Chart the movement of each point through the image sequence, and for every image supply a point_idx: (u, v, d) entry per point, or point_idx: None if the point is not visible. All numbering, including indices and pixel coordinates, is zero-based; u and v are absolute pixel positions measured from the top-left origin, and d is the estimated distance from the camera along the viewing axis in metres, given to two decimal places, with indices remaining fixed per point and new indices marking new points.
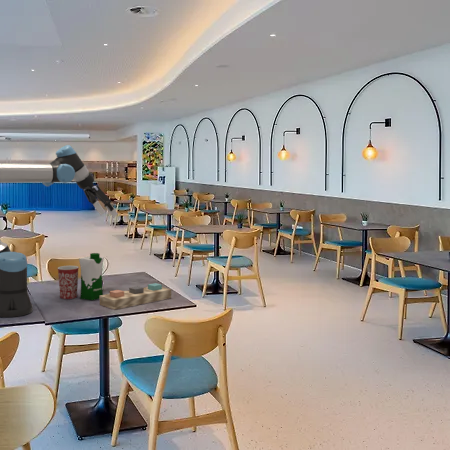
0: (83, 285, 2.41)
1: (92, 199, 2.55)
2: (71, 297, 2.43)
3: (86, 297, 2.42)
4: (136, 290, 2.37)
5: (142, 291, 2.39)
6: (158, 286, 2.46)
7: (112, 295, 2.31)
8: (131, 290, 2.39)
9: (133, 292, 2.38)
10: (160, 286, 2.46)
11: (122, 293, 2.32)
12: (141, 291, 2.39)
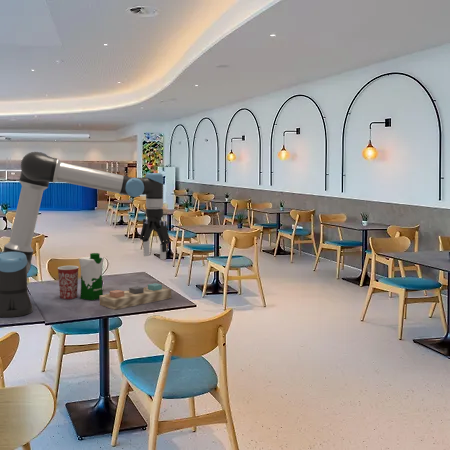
0: (83, 285, 2.41)
1: (146, 236, 2.48)
2: (71, 297, 2.43)
3: (86, 297, 2.42)
4: (136, 290, 2.37)
5: (142, 291, 2.39)
6: (158, 286, 2.46)
7: (112, 295, 2.31)
8: (131, 290, 2.39)
9: (133, 292, 2.38)
10: (160, 286, 2.46)
11: (122, 293, 2.32)
12: (141, 291, 2.39)
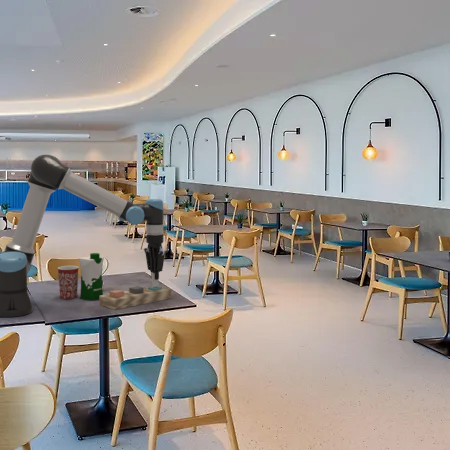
0: (83, 285, 2.41)
1: (152, 264, 2.46)
2: (71, 297, 2.43)
3: (86, 297, 2.42)
4: (136, 290, 2.37)
5: (142, 291, 2.39)
6: (158, 289, 2.46)
7: (112, 295, 2.31)
8: (131, 290, 2.39)
9: (133, 292, 2.38)
10: (160, 289, 2.46)
11: (122, 293, 2.32)
12: (141, 291, 2.39)
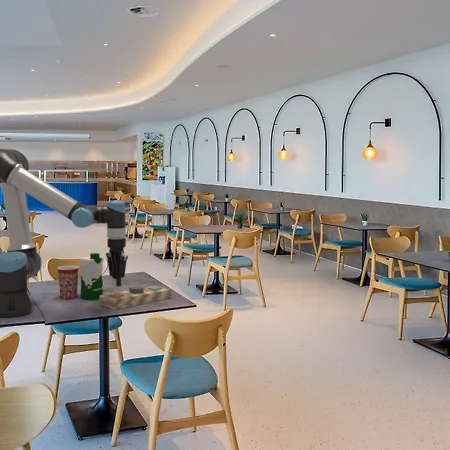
0: (83, 285, 2.41)
1: (114, 270, 2.32)
2: (71, 297, 2.43)
3: (86, 297, 2.42)
4: (136, 290, 2.37)
5: (142, 291, 2.39)
6: (158, 289, 2.46)
7: None
8: (131, 290, 2.39)
9: (133, 292, 2.38)
10: (160, 289, 2.46)
11: (122, 296, 2.32)
12: (141, 291, 2.39)
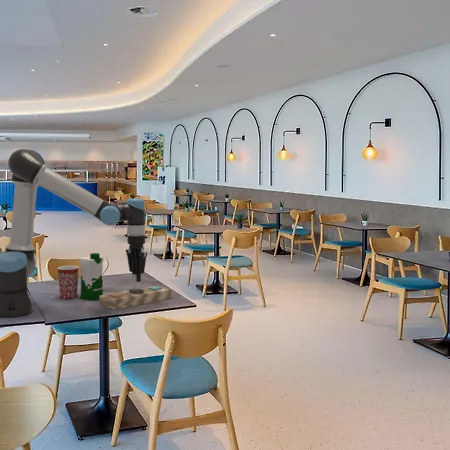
0: (83, 285, 2.41)
1: (134, 266, 2.39)
2: (71, 297, 2.43)
3: (86, 297, 2.42)
4: (136, 292, 2.37)
5: None
6: (158, 289, 2.46)
7: None
8: (131, 292, 2.39)
9: None
10: (160, 289, 2.46)
11: (122, 296, 2.32)
12: None
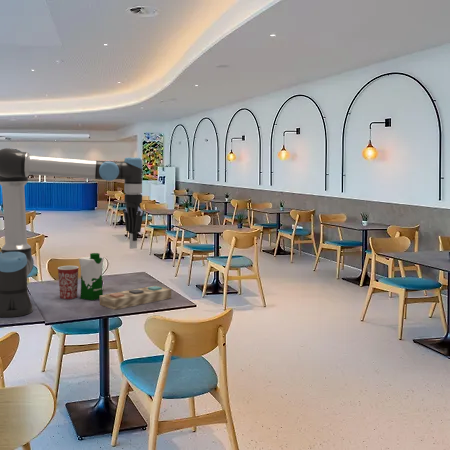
0: (83, 285, 2.41)
1: (131, 225, 2.39)
2: (71, 297, 2.43)
3: (86, 297, 2.42)
4: (136, 293, 2.37)
5: None
6: (158, 289, 2.46)
7: None
8: None
9: None
10: (160, 289, 2.46)
11: (122, 296, 2.32)
12: None
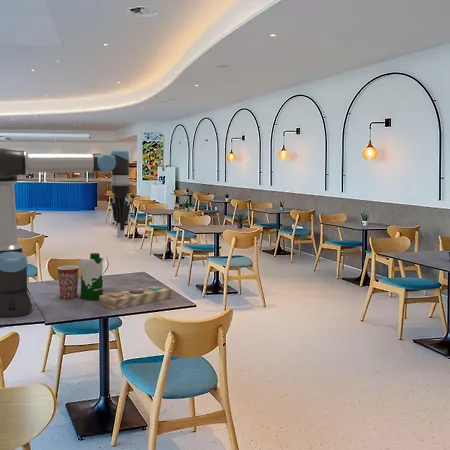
0: (83, 285, 2.41)
1: (118, 215, 2.48)
2: (71, 297, 2.43)
3: (86, 297, 2.42)
4: (136, 293, 2.37)
5: None
6: (158, 289, 2.46)
7: None
8: None
9: None
10: (160, 289, 2.46)
11: (122, 296, 2.32)
12: None
